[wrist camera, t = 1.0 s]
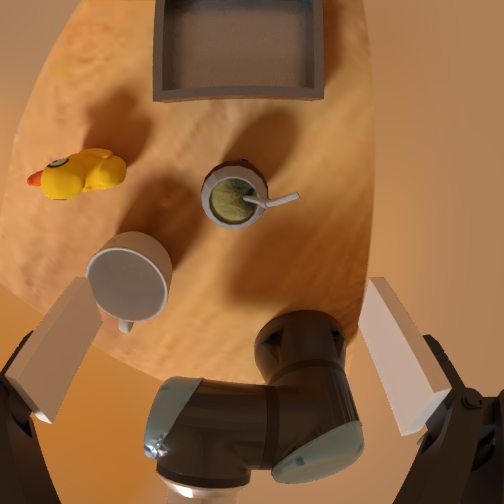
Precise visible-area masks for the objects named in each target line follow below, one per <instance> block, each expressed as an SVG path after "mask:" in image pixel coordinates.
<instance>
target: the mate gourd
mask: <svg viewBox="0 0 504 504" xmlns="http://www.w3.org/2000/svg"><path fill="white" fill-rule="evenodd" d="M299 198H300V196H299V194H298V193H297V192H295V193H291V194H289V195H286V196H283V197H280V198H276V199H272V200H271V199H269V198H268V186H267V183H266V181H265V179H264V177H263V174H262V173H261V172H260V171H258V170H257V169H256V168H255V167H254V166H253V165H252V164H250V163H249V162H248V160H245V159H242V161H241V160H239V161H226V162H224V163H222V164H220V165H218V166H216V167H214V168H213V169H212V170H211V171H210V172H209V174H208V175H207V176H206V177H205V180H204V183H203V186H202V189H201V199H202V207H203V208H204V210H205V212H206V214H207V216H208V217H209V218H210V219H211V220H212V221H214V222H215V223H216V224H217V225H219V226H222V227H225V228H228V229H242V228H244V227H247V226H249V225H251V224H254V223H255V222H256V221H257V220H258V219H259V218H260V217H261V216H262V215H263V213H264V210H265V208H271V207H272V206H276V205H280V204H283V203H286V202H289V201H292V200H296V199H299Z"/></svg>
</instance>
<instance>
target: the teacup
mask: <svg viewBox="0 0 504 504" xmlns="http://www.w3.org/2000/svg"><path fill="white" fill-rule="evenodd" d="M85 278H89V282H90V285H91V288H92V291H93V295H94V298H95V301H96V304H97V305H98V306H99V307H100V308H101V309H102V310H104V311H105V312H106V313H108V314H110V315H111V316H113V317H116V318H118V319H119V329H120V331H122V332H126V333H128V332H130V331H131V329H132V326H133V323H134V322H144V321H148V320H150V319H153V318H155V317H156V316H157V315H159V314H160V313H161V312H162V310H163V309H164V307H165V305H166V303H167V299H168V292H169V289H170V285H171V280H172V264H171V260H170V257H169V255H168V253H167V251H166V250H165V248H164V247H163V246H162V245H161V243H159V242H158V241H157V240H156V239H155V238H153V237H151V236H149V235H147V234H145V233H141V232H135V231H129V232H123V233H120V234H118V235H116V236H114V237H113V238H111V239H110V240H109V241H108V242H107V243H106V244H105V245H104V246H103V247H102V248H101V249H100V250H99V251H98V252H97V253H96V254H95V255H94V256H93V257H92V258H91V260H90V261H89V263H88V266H87V269H86V275H85Z"/></svg>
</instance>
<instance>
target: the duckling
mask: <svg viewBox="0 0 504 504" xmlns="http://www.w3.org/2000/svg"><path fill="white" fill-rule="evenodd" d="M126 172H127V168H126V163H125V161H124V160H123V159H122V158H120V157H118V156H115V155H113V152H112V151H110V150H107V149H101V148H89V149H84V150H82V151H80V152H79V153H76V154H72V155H70V156H68V157H67V158H65V159H59V160H56V161H54V162H52V163H50V164H49V165H48V166H47V167H46V168H45V169H44V170H42V171H39V172H37V173H35V174H33V175H31V176H30V177H29V178H28V180H27V183H28V185H32V186H41V188H42V190H43V192H44V193H45V194H46V195H47V196H48V197H49V198H51V199H54V200H67V199H71V198H73V197H75V196H77V195H78V194H79V193H80V192H81V191H91V190H96V189H107V188H110V187H115V186H117V185H119V184H121V183H122V182H123V181H124V179H125V177H126Z"/></svg>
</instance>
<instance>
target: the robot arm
mask: <svg viewBox="0 0 504 504" xmlns="http://www.w3.org/2000/svg"><path fill="white" fill-rule="evenodd" d="M102 323H103V321H102V318H101V315H100V312H99V310H98V307H97V304H96V301H95V298H94V295H93V291H92V288H91V285H90V282H89V278H85V277H76V278H75V279H74V280H73V281H72V283H71V284H70V285H69V286H68V287H67V289H66V290H65V291H64V292H63V294H62V295H61V296H60V297H59V299H58V300H57V301H56V302H55V304H54V305H53V306H52V308H51V309H50V310H49V311H48V313H47V314H46V315H45V317H44V318H43V320H42V321H41V322H40V323H39V325H38V326H37V327H36V329H35V330H34V331H31V332H30V333H29V334H27V335H26V336H25V337H24V338H23V340H22V341H21V342H20V344H19V347H17V348H16V350H15V351H14V353H13V354H12V356H11V357H10V358H9V360H8V361H7V363H6V365H5V366H4V368H3V369H2V371H1V372H0V504H61V502H60V500H59V497H58V495H57V493H56V490H55V488H54V486H53V483H52V480H51V478H50V475H49V472H48V470H47V467H46V464H45V461H44V458H43V455H42V452H41V448H40V446H39V442H38V438H37V435H36V431H35V427H34V423H33V420H32V418H31V417H30V414H31V412H33V413H34V414H35V415H36V416H37V417H38V418H39V419H40V420H42V421H45V422H48V423H51V424H53V422H54V419H55V417H56V415H57V413H58V410H59V408H60V406H61V403H62V401H63V399H64V397H65V395H66V393H67V391H68V389H69V386H70V384H71V382H72V380H73V378H74V376H75V374H76V372H77V370H78V368H79V366H80V364H81V362H82V360H83V358H84V356H85V354H86V352H87V351H88V349H89V347H90V345H91V343H92V341H93V339H94V337H95V336H96V334H97V332H98V330H99V328H100V327H101V325H102ZM358 326H359V329H360V331H361V333H362V335H363V338H364V340H365V343H366V345H367V347H368V350H369V352H370V354H371V357H372V359H373V362H374V364H375V367H376V369H377V372H378V374H379V377H380V379H381V382H382V384H383V387H384V389H385V392H386V395H387V397H388V400H389V403H390V405H391V408H392V411H393V413H394V416H395V419H396V422H397V425H398V427H399V430H400V433H401V436H405V435H408V434H412V433H416V432H418V431H419V430H420V429H421V428H422V427H423V426H424V424H426V426H427V429H428V431H427V432H426V433H425V434H424V435H423V436H422V438H420V440H419V441H418V442H417V444H418V445H419V444H420V443H421V442H422V443H421V446H420V448H419V450H418V453H417V455H416V457H415V460H414V462H413V464H412V466H411V468H410V471H409V473H408V475H407V477H406V479H405V481H404V483H403V485H402V487H401V489H400V491H399V493H398V494H397V496H396V498H395V500H394V502H393V503H392V504H459V503H460V504H504V389H503V390H502V391H501V392H500V394H499V395H498V396H497V397H482V395H481V394H480V393H479V392H478V391H476V390H475V389H472V388H466V387H465V385H464V384H463V382H462V380H461V379H460V377H459V375H458V373H457V372H456V370H455V368H454V366H453V365H452V363H451V362H450V360H448V356H447V355H446V354H445V353H444V350H443V349H442V347H441V345H440V344H439V342H438V341H437V340H435V339H434V338H433V337H432V336H431V335H423V336H422V335H421V333H420V331H419V330H418V328H417V326H416V325H415V323H414V322H413V320H412V319H411V317H410V315H409V314H408V312H407V311H406V310H405V308H404V306H403V305H402V303H401V302H400V300H399V299H398V297H397V296H396V294H395V293H394V291H393V290H392V288H391V287H390V285H389V284H388V283H387V281H386V280H385V278H384V277H378V278H369V281H368V286H367V290H366V294H365V298H364V302H363V306H362V310H361V314H360V317H359V321H358ZM254 348H255V361H256V364H257V366H258V368H259V370H260V372H261V374H262V376H263V378H264V380H265V382H266V384H267V385H256V384H243V383H233V382H223V381H215V380H207V379H205V378H202V377H200V378H199V379H198V378H188V377H178V376H176V377H171V378H169V379H167V380H166V381H165V382H164V383H163V384H162V385H161V387H160V388H159V390H158V392H157V395H156V397H155V399H154V402H153V404H152V407H151V410H150V413H149V417H148V421H147V425H146V430H145V435H144V452H145V454H146V455H147V456H148V457H150V458H151V459H157V469H156V472H157V475H158V476H159V477H160V478H161V479H162V480H163V481H164V482H165V483H166V484H167V485H168V491H167V504H236V494H237V492H239V491H240V490H242V489H243V488H245V487H246V486H248V485H249V483H250V475H251V470H271V475H272V476H273V478H274V480H275V481H277V482H279V483H286V484H296V483H305V482H310V481H313V480H318V479H321V478H324V477H327V476H330V475H332V474H335V473H337V472H339V471H341V470H343V469H345V468H347V467H348V466H349V465H351V464H352V463H354V462H355V461H356V460H357V459H358V458H359V457H360V456H361V454H362V452H363V450H364V438H363V432H362V423H361V422H360V420H359V417H358V413H357V410H356V406H355V403H354V400H353V397H352V394H351V390H350V387H349V384H348V381H347V378H346V374H345V371H344V368H345V357H346V339H345V335H344V333H343V330H342V328H341V326H340V324H339V323H338V322H337V321H336V320H335V319H334V318H333V317H331V316H329V315H327V314H325V313H321V312H317V311H296V312H291V313H288V314H285V315H282V316H280V317H278V318H276V319H274V320H272V321H271V322H269V323H268V324H267V325H266V326H265V327H264V328H263V329H262V330H261V331H260V332H259V334H258V336H257V338H256V341H255V346H254Z"/></svg>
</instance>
